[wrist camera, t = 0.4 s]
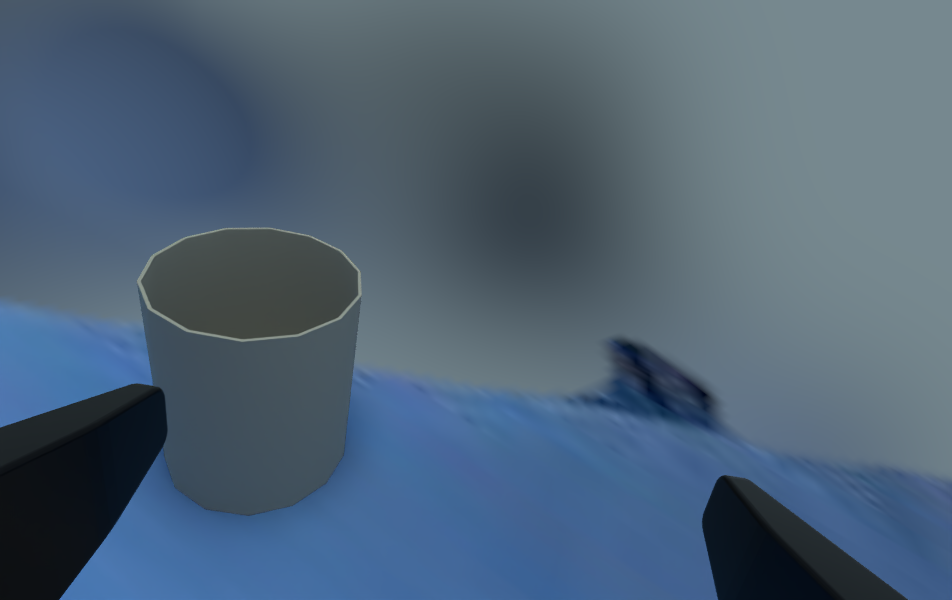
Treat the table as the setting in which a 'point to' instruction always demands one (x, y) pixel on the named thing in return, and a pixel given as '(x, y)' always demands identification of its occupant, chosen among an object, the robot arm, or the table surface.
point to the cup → (251, 363)
